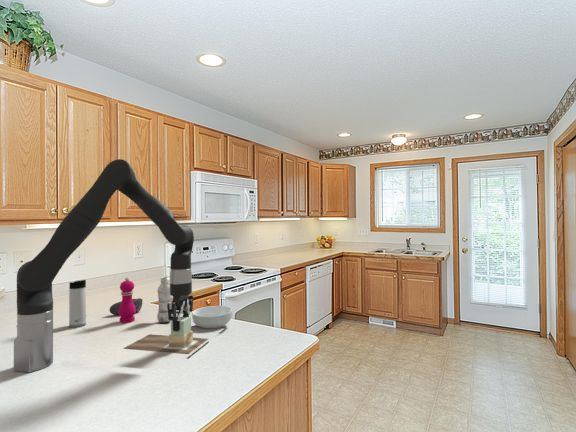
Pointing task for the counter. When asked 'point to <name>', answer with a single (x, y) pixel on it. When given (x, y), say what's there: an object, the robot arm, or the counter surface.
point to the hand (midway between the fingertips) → (181, 328)
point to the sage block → (182, 326)
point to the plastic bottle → (164, 300)
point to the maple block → (180, 340)
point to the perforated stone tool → (115, 307)
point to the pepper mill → (127, 302)
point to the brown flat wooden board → (165, 345)
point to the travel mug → (77, 304)
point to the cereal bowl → (212, 316)
